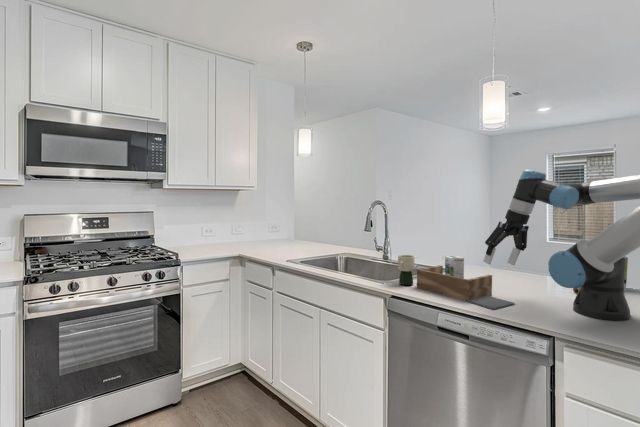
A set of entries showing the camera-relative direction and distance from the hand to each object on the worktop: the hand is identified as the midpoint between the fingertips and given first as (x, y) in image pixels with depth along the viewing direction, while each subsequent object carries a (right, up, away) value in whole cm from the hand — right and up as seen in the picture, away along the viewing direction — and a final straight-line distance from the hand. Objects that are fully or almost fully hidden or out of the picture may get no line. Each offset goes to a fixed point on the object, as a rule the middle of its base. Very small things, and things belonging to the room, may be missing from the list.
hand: (498, 263), depth 137 cm
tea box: (+51, -13, +15) cm, 55 cm away
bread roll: (+39, -14, +7) cm, 42 cm away
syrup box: (-13, -14, +12) cm, 22 cm away
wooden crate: (-13, -13, +12) cm, 22 cm away
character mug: (-30, -13, +23) cm, 40 cm away
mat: (-6, -14, -4) cm, 16 cm away
